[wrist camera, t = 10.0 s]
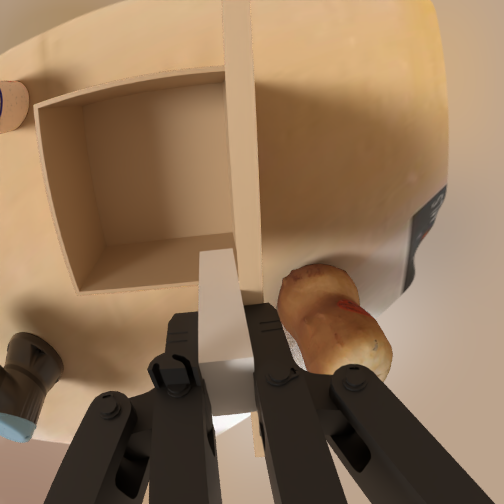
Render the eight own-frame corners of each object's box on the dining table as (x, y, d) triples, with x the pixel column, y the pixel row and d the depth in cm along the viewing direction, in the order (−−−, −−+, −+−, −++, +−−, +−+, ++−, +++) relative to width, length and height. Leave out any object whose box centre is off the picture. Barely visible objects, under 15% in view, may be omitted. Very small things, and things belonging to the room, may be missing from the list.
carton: (236, 233, 49) (247, 280, 36) (105, 248, 46) (77, 296, 34) (226, 79, 38) (234, 64, 25) (80, 103, 35) (33, 104, 23)
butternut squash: (354, 264, 55) (427, 356, 32) (318, 319, 59) (367, 420, 37) (291, 238, 50) (352, 342, 28) (256, 302, 55) (287, 417, 33)
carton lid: (247, 282, 36) (254, 281, 36) (255, 457, 17) (267, 456, 17) (234, 62, 25) (243, 61, 25) (220, -37, 6) (247, -39, 6)
